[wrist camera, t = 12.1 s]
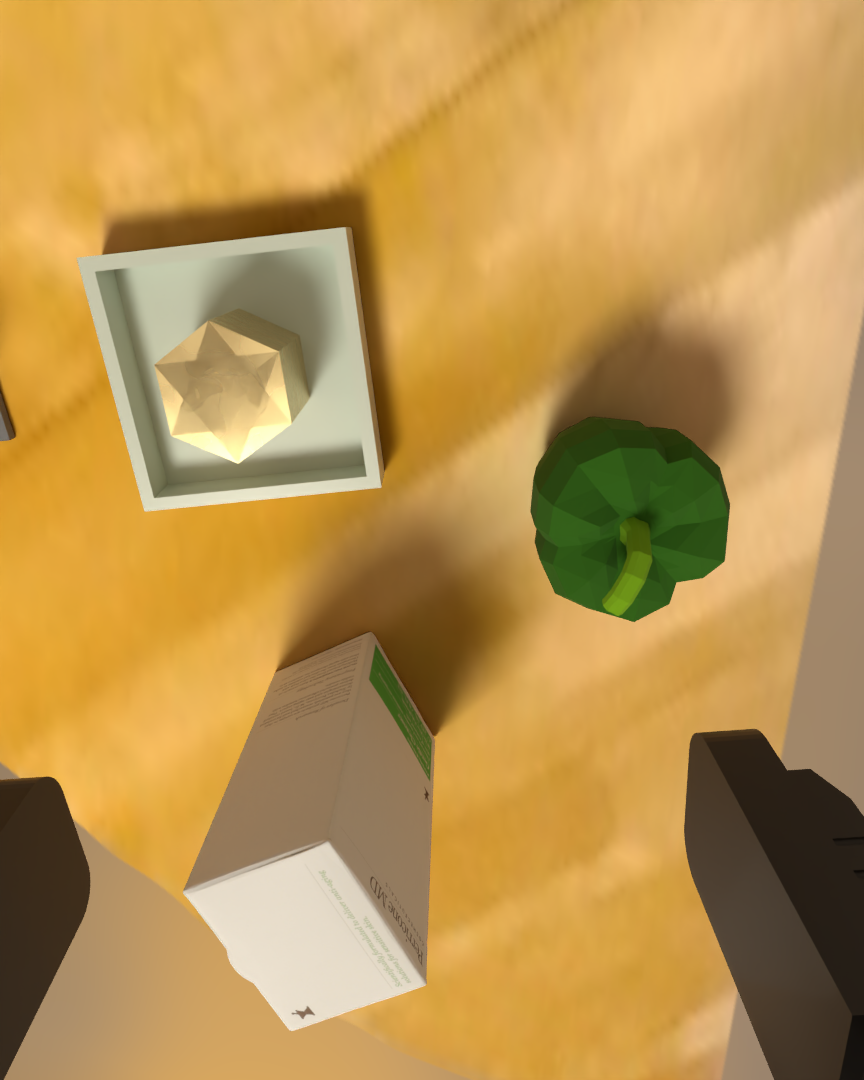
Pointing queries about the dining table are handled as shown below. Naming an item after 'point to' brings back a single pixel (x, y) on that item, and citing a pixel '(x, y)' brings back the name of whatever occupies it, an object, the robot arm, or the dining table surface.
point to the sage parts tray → (274, 295)
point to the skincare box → (325, 840)
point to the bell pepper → (627, 515)
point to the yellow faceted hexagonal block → (233, 384)
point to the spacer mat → (5, 423)
